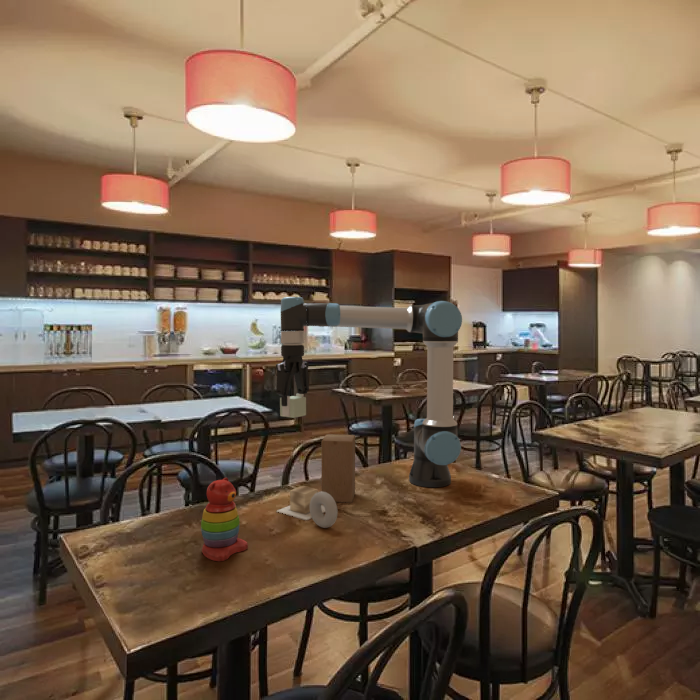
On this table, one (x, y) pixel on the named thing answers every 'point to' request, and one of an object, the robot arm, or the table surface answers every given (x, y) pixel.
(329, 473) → the wooden block
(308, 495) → the maple cube
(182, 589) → the table surface
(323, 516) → the donut
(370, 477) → the table surface
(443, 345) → the robot arm
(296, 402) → the sage cube
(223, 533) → the stacking bear
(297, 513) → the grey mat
